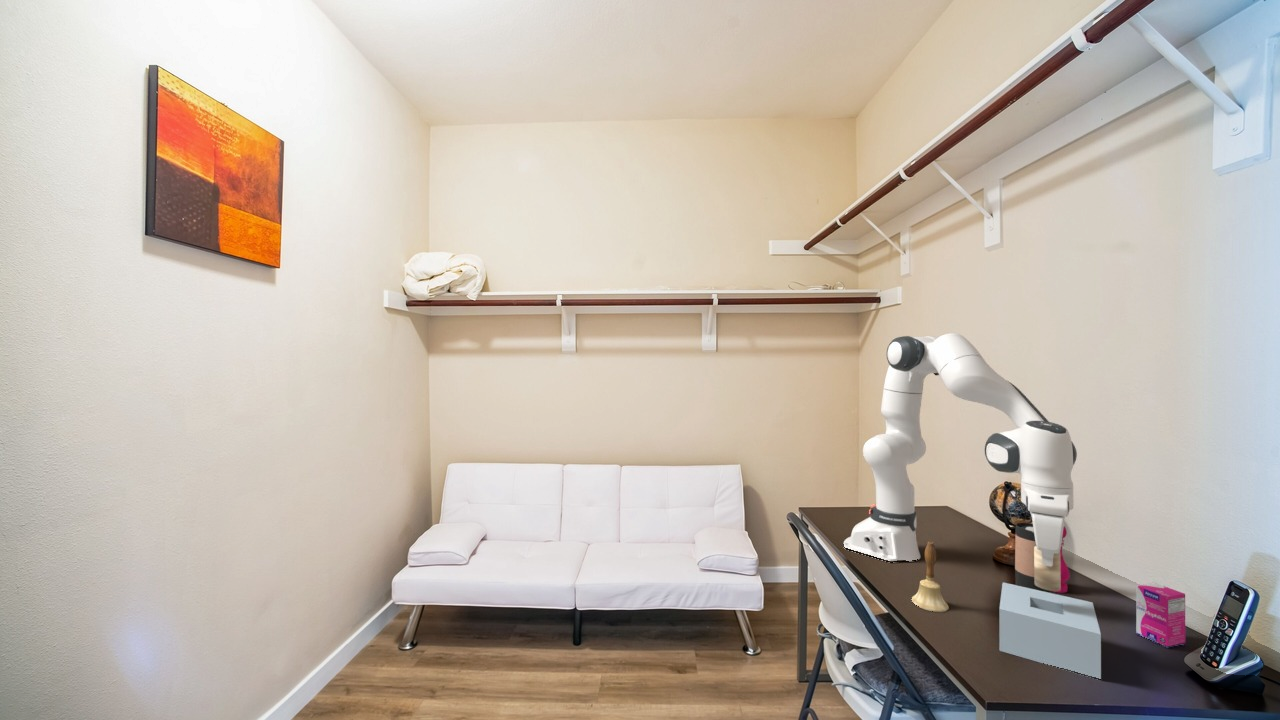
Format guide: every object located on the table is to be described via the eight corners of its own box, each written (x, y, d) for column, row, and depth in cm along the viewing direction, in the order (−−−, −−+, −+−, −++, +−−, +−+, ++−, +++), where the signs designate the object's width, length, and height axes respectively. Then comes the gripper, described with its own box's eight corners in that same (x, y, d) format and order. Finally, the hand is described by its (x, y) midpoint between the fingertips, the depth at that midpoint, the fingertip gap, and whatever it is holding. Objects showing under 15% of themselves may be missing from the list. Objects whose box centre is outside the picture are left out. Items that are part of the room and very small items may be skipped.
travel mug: (1027, 596, 130) (1027, 520, 130) (1060, 610, 123) (1060, 530, 123) (1008, 602, 127) (1008, 524, 127) (1041, 616, 120) (1041, 534, 120)
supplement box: (1134, 634, 112) (1134, 584, 112) (1153, 631, 114) (1153, 581, 114) (1167, 649, 107) (1167, 596, 107) (1186, 645, 108) (1186, 593, 108)
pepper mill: (1076, 595, 131) (1076, 519, 131) (1045, 592, 133) (1045, 518, 133) (1059, 583, 138) (1059, 511, 138) (1029, 580, 140) (1029, 510, 140)
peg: (1034, 587, 107) (1034, 550, 107) (1034, 580, 111) (1034, 544, 111) (1061, 593, 104) (1060, 555, 104) (1060, 585, 108) (1059, 548, 108)
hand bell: (946, 600, 128) (946, 539, 128) (950, 615, 121) (950, 550, 121) (910, 594, 132) (910, 534, 132) (912, 608, 125) (911, 544, 125)
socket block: (999, 650, 106) (999, 608, 106) (1002, 619, 119) (1002, 582, 119) (1100, 680, 96) (1100, 634, 96) (1092, 643, 109) (1092, 602, 109)
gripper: (1028, 485, 118) (1028, 543, 118) (1028, 505, 102) (1028, 572, 102) (1062, 489, 114) (1063, 549, 114) (1068, 510, 98) (1069, 580, 98)
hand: (1046, 560), depth 107 cm, fingers closed on peg, 4 cm apart
